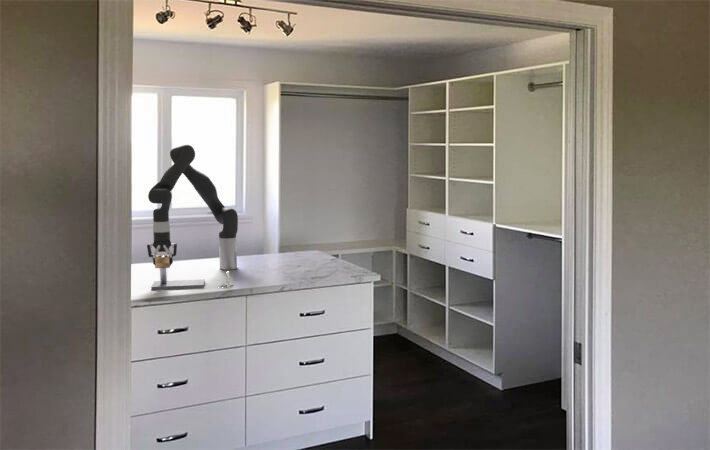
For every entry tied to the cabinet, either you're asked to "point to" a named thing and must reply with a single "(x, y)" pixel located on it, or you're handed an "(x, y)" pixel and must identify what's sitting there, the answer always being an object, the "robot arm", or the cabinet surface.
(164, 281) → the steel needle
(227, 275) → the stand
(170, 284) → the lacing board
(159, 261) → the oak bead
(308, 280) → the cabinet surface
